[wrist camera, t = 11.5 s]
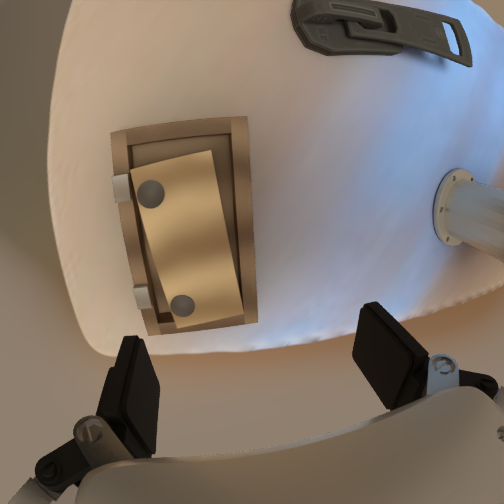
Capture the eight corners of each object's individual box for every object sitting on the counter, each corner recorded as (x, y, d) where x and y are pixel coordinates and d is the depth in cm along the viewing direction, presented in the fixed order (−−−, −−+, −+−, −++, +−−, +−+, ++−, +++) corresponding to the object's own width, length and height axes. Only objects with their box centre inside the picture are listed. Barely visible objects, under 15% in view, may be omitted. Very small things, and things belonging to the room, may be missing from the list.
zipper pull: (477, 72, 21) (324, 35, 18) (445, 75, 27) (298, 55, 24) (461, 17, 18) (304, -34, 15) (432, 25, 24) (284, -6, 21)
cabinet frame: (118, 134, 24) (107, 132, 20) (241, 119, 26) (248, 115, 22) (151, 321, 31) (147, 340, 28) (252, 308, 34) (259, 326, 30)
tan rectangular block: (139, 167, 25) (129, 170, 21) (208, 150, 26) (211, 150, 22) (178, 308, 31) (177, 329, 27) (238, 294, 32) (244, 314, 28)
